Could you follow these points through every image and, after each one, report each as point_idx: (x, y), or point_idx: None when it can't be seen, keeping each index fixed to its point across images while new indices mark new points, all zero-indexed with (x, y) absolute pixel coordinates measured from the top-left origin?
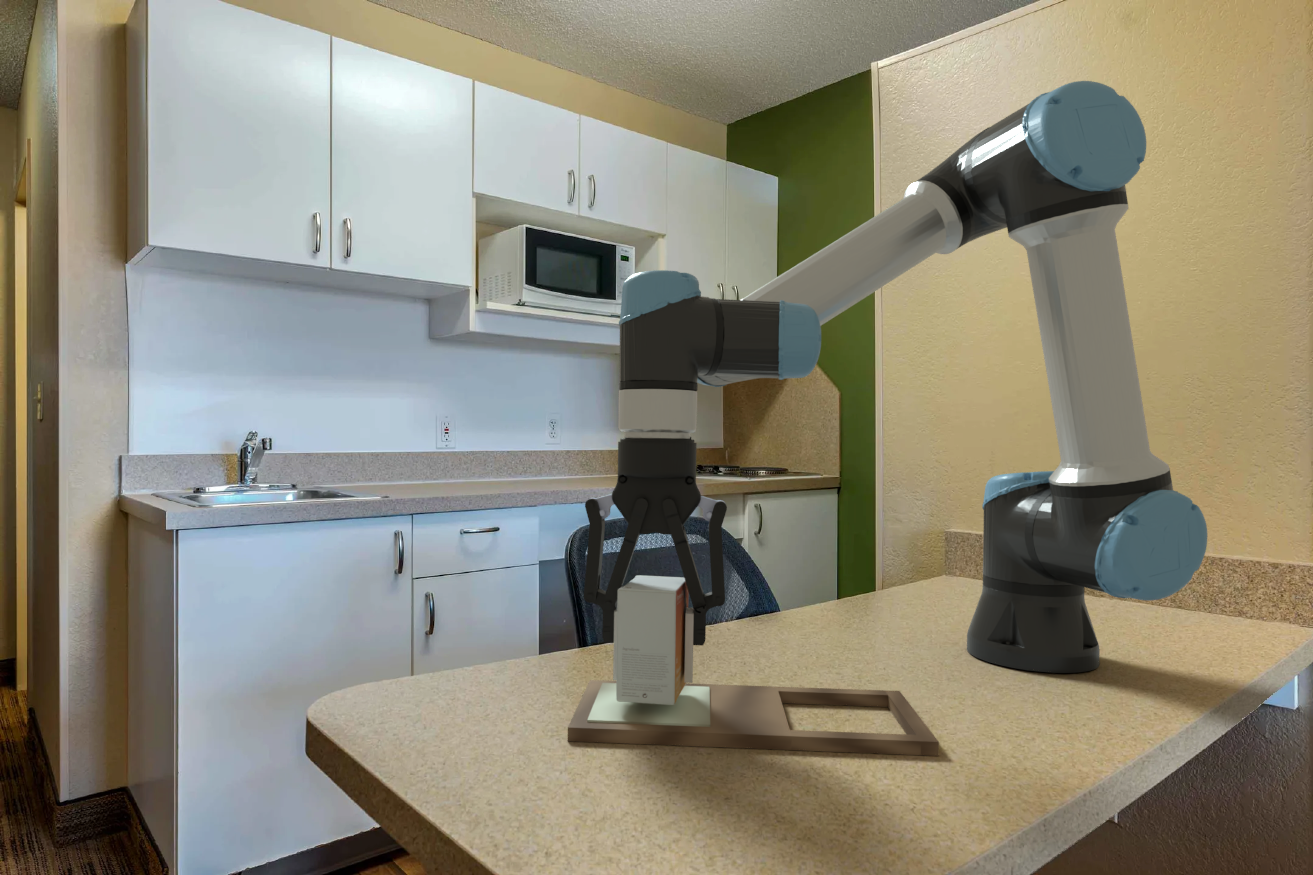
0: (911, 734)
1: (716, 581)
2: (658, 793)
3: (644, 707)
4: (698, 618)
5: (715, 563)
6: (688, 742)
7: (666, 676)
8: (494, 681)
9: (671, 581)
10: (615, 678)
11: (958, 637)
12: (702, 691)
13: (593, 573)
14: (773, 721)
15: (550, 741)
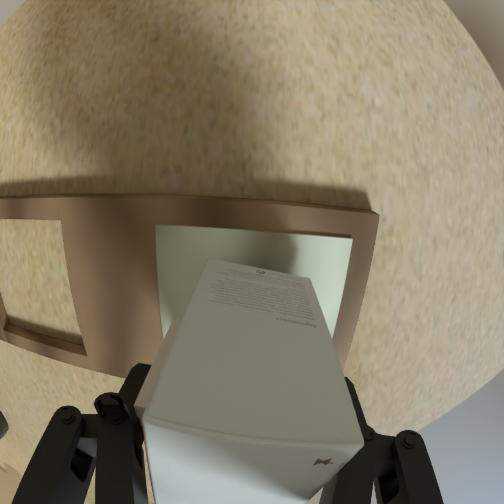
0: None
1: (53, 451)
2: (240, 39)
3: None
4: (131, 403)
5: (37, 489)
6: (192, 196)
7: (216, 280)
8: (428, 394)
9: (186, 499)
10: None
11: (20, 443)
12: None
13: (419, 490)
14: (78, 250)
15: (393, 210)
